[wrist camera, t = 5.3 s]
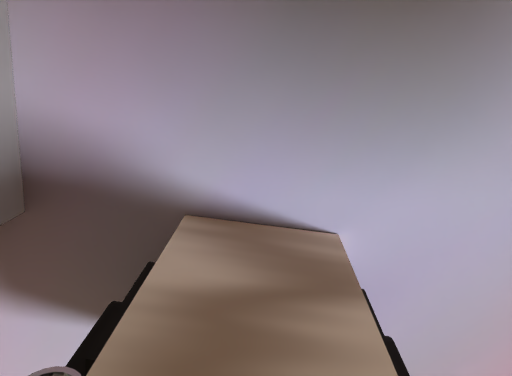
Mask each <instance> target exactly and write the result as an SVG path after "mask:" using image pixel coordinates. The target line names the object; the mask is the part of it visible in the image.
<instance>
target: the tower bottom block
mask: <svg viewBox="0 0 512 376" xmlns="http://www.w3.org/2000/svg"><path fill="white" fill-rule="evenodd" d="M23 212H25V207H24V195H23V183H22V171H21V159H20V147H19V136H18V124H17V112H16V100H15V88H14V76H13V64H12V52H11V40H10V28H9V16H8V4H7V0H0V225H2V224H4V223H5V222H7V221H9V220H11V219H13V218H14V217H16V216H18V215H20V214H22V213H23Z"/></svg>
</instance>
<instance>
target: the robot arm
mask: <svg viewBox="0 0 512 376" xmlns="http://www.w3.org/2000/svg"><path fill="white" fill-rule="evenodd" d="M155 263H156V262H148V264H147V265H146V267H145V268H144V270H143V271H142V273H141V274H140V276H139V277H138V279H137V280H136V282H135V284H134V285H133V287H132V288H131V290H130V291H129V293H128V294H127V296H126V297H125V299H124V300H123V302H116V301H113V302H111V303H110V304H109V305H108V307H107V308H106V310H105V311H104V312H103V314H102V315H101V317H100V318H99V320H98V321H97V322H96V324H95V325H94V327H93V328H92V329H91V331H90V332H89V334H88V335H87V337H86V338H85V339H84V341H83V342H82V344H81V345H80V347H79V348H78V349H77V351H76V352H75V354H74V355H73V356H72V358H71V359H70V361H69V362H68V364H67V365H66V366H65V367H59V366H55V367H50V368H45V369H42V370H39V371H37V372H34V373H32V374H31V375H29V376H86V375H87V374H88V372H89V370H90V369H91V367H92V365H93V364H94V362H95V361H96V359H97V357H98V356H99V354H100V352H101V351H102V349H103V348H104V346H105V344H106V343H107V341H108V339H109V338H110V336H111V335H112V333H113V331H114V330H115V328H116V326H117V325H118V323H119V322H120V320H121V318H122V317H123V315H124V313H125V312H126V310H127V309H128V307H129V305H130V304H131V302H132V300H133V299H134V297H135V296H136V294H137V292H138V291H139V289H140V287H141V286H142V284H143V283H144V281H145V279H146V278H147V276H148V274H149V273H150V271H151V270H152V268H153V266H154V265H155ZM361 290H362V292H363V294H364V297H365V299H366V301H367V304H368V306H369V308H370V311H371V313H372V316H373V318H374V320H375V323H376V325H377V327H378V330H379V332H380V335H381V337H382V339H383V342H384V344H385V346H386V349H387V351H388V354H389V356H390V358H391V361H392V363H393V365H394V368H395V370H396V372H397V375H398V376H410V375H409V373H408V371H407V369H406V367H405V365H404V362H403V360H402V358H401V356H400V354H399V351H398V349H397V347H396V345H395V343H394V341H393V339H392V338H391V337H389V336H384V334H383V332H382V329H381V327H380V325H379V322H378V320H377V318H376V315H375V313H374V311H373V308H372V306H371V304H370V302H369V299H368V297H367V295H366V292H365V290H364V289H361Z"/></svg>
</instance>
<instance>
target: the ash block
mask: <svg viewBox="0 0 512 376" xmlns="http://www.w3.org/2000/svg"><path fill="white" fill-rule="evenodd" d="M86 376H398V375H397V372H396V370H395V368H394V365H393V363H392V361H391V358H390V356H389V354H388V351H387V349H386V346H385V344H384V342H383V339H382V337H381V335H380V332H379V330H378V327H377V325H376V323H375V320H374V318H373V316H372V313H371V311H370V308H369V306H368V304H367V301H366V299H365V297H364V294H363V292H362V290H361V287H360V285H359V282H358V280H357V278H356V275H355V273H354V271H353V268H352V266H351V263H350V261H349V259H348V256H347V254H346V252H345V249H344V247H343V245H342V242H341V240H340V237H339V235H338V234H330V233H322V232H314V231H307V230H299V229H291V228H283V227H275V226H267V225H260V224H252V223H244V222H236V221H228V220H221V219H213V218H205V217H197V216H189V215H185V216H184V217H183V219H182V221H181V222H180V224H179V226H178V227H177V229H176V230H175V232H174V234H173V235H172V237H171V239H170V240H169V242H168V243H167V245H166V247H165V248H164V250H163V252H162V253H161V255H160V256H159V258H158V260H157V261H156V263H155V265H154V266H153V268H152V270H151V271H150V273H149V274H148V276H147V278H146V279H145V281H144V283H143V284H142V286H141V287H140V289H139V291H138V292H137V294H136V296H135V297H134V299H133V300H132V302H131V304H130V305H129V307H128V309H127V310H126V312H125V313H124V315H123V317H122V318H121V320H120V322H119V323H118V325H117V326H116V328H115V330H114V331H113V333H112V335H111V336H110V338H109V339H108V341H107V343H106V344H105V346H104V348H103V349H102V351H101V352H100V354H99V356H98V357H97V359H96V361H95V362H94V364H93V365H92V367H91V369H90V370H89V372H88V374H87V375H86Z"/></svg>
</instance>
